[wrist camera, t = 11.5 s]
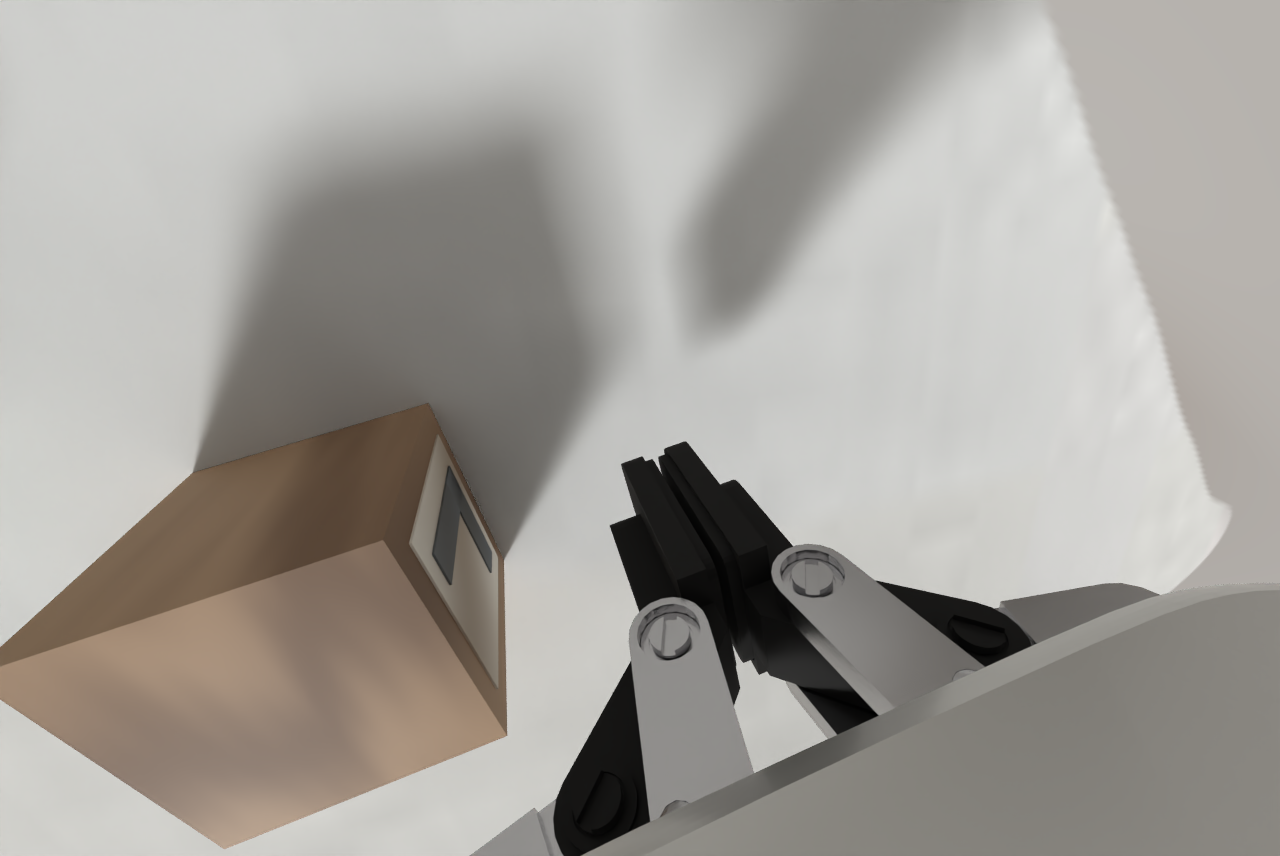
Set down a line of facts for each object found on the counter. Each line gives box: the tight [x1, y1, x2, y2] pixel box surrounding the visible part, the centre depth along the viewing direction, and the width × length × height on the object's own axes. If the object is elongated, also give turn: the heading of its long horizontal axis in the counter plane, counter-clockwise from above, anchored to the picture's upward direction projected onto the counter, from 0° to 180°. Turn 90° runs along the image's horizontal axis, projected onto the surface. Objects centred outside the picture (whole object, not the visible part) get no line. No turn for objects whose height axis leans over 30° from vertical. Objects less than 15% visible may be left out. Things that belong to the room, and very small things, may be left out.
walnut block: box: [0, 403, 507, 849], centre depth 11 cm, size 6×6×6 cm
